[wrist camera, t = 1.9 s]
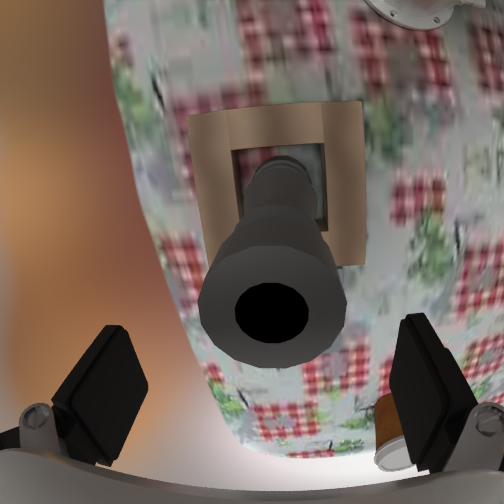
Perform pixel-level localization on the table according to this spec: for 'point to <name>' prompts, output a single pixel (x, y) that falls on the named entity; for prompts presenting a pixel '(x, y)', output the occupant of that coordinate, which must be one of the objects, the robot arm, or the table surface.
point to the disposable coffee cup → (389, 437)
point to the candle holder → (274, 276)
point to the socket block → (274, 134)
